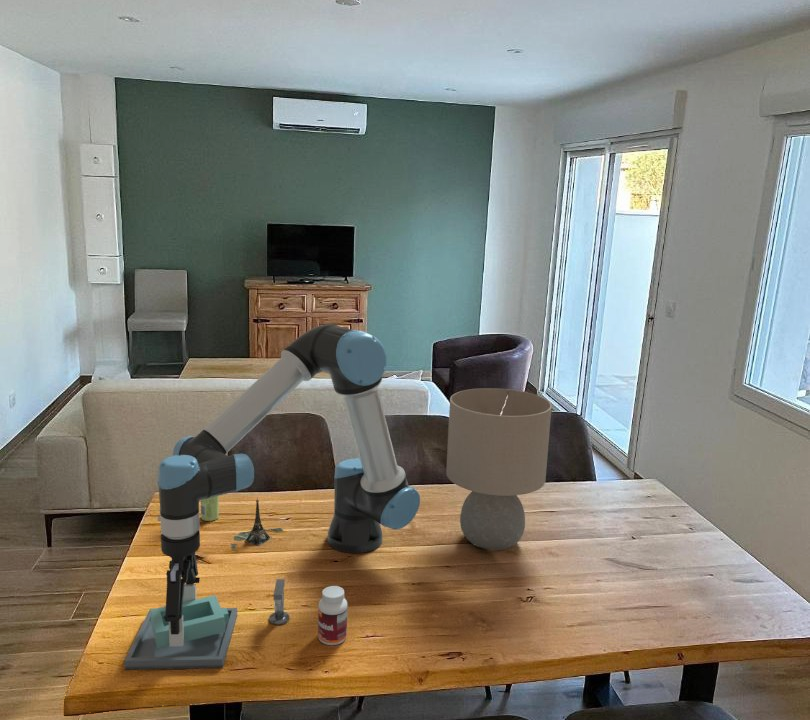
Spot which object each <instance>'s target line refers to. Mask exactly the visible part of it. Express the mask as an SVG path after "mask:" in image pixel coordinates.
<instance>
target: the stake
mask: <svg viewBox="0 0 810 720" xmlns="http://www.w3.org/2000/svg"><path fill="white" fill-rule="evenodd" d="M285 581H286V580H285V578H276V582H275V586H274V589H273V596H272V597H273V600H274V612H273V613H270V615H269V617H268V618H269V619H268V620H269V622H270V624H271V625H275V626H281V625H285V624H287V623H288V622H289V620H290V614H289V613H288V612H285V591H284V590H285V585H286V583H285Z"/></svg>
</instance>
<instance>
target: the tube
mask: <svg viewBox="0 0 810 720" xmlns="http://www.w3.org/2000/svg"><path fill="white" fill-rule="evenodd" d="M219 498H220V495H219V496H215V497H211V498H208V499H204V500H200V518H201V520H202V521H204V522H212V521H216V520H218V518H220V516H219V515H220V514H219V512H220V511H219V509H220V508H219V507H220V506H219V505H220V504H219V502H220V499H219Z"/></svg>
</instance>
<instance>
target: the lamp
mask: <svg viewBox="0 0 810 720" xmlns="http://www.w3.org/2000/svg"><path fill="white" fill-rule="evenodd" d="M552 408H553V407H552V403H551V402H550V401H549V400H548V399H546V398H544V397H542V396H540V395H537V394H535V393H530V392H527V391H523V390H518V389H517V390H516V389H507V388H497V387H495V388H488V387H487V388H486V387H485V388H481V387H480V388H472V389H465V390H461V391H458V392H456V393H454V394H452V395H451V396H450V397H449V410H448V411H449V413H448V414H449V415H448V429H447V430H448V431H447V435H448V436H447V453H446V471H445V472H446V477H447V478H448V480H449V481H450V482H451V483H453V484H454V485H456V486H458V487H460V488H462V489H465V490H467V491H470V492H469V494H468V495H466V498H465V499H464V502H463V504H462V507H461V511H460V515H459V523H460V529H461V532H462V535H464V537H465V538H466V540H468V541H469V543H471V544H473V545H474V546H476V547H477V548H480V549H483V550H488V551H502V550H506V549H510V548H512V547H513V546H515V545H516V544H517V543H519V541H521V539H522V538H523V535H524V532H525V528H526V513H525V509H524V506H523V503H522V501H521V499H520V498H519V497H518V496H521V495H527V494H530V493H533V492H536V491H538V490H540V489H542V488H543V487H544V486H545V484H546V478H547V476H546V475H547V464H548V452H549V440H550V430H551V418H552Z"/></svg>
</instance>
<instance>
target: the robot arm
mask: <svg viewBox="0 0 810 720" xmlns="http://www.w3.org/2000/svg"><path fill="white" fill-rule="evenodd" d="M387 360H388V359H387V353H386V349H385V347H384V345H383V343H382V342H381V340H379V339H378V338H377V337H375V336H374V335H372V334H370V333H368V332H365V331H363V330H360V329H352V328H347V327H343V326H341V325H337V324H332V323H327V324H320V325H318V326H315V327H313V328H311V329H309V330H308V331H306V332H303V333H302V334H300V336H298V337H297V338H296V339H294V340H293V341H292V342H291V343H290V344H289V345H287V346H286V347H285V348H284V349H283V350H282V351H281V353H280V359H278V360H277V361H276V362H275V363H274V364H273V365H272V366H271V367H269V368H268V370H267V371H266V372H264V373H263V374H262V375H261V376H260V377H259V378H258V379H256V380H255V382H253V383H252V384H251V385H250V386H249V387H248V388H247V389H246V390H245V391H244V392H243V393H241V394H240V395H239V396H238V397H237V398H236V399H235V400H234V401H233V402H232V403H230V405H228V406H227V407H226V408H225V409H224V410H223V411H222V412H220V414H219V415H218V416H217V417H216V418H214V419H213V420H212V421H211V422H210V423H209V424H208V425H207V426H206V427H205V428H203V429H202V430H201V431H200V432H199V433H198V434H197V435H196V436H193V435H188V436H184V437H182V438H180V439H179V440H178V441H177V442H176V444H175V445H174V446H173V447H174V448H173V451H172V455H171V456H167V457H165V458H164V459H163V460H161V462H160V463H159V464H158V465H159V466H158V475H157V479H158V480H157V486H158V495H159V496H158V499H159V516H158V517H157V521H159V522H160V534H161V535H160V547H161V548H160V549H161V552H162V554H164V555H165V556H167V557H169V558H171V560H169V564H168V570H166V594H165V595H166V597H165V606H166V613H165V616H164V619H165V622H169V644H170V647H174V646H184V624H183V615H182V605H183V602H187V601H191V600H196V599H197V585H196V584H200V580H201V578H200V577H197V576H198V575H199V570H198V563H197V556H196V552H198V550H199V549H200V547H201V538H200V537H201V536H200V535H201V534H200V533H201V532H200V527H201V526H200V525H201V522H200V502H201V500H204V499H208V498H211V497H215V496H219V497H220V496H223V495H227V494H230V493H237V492H238V491H241V490H244V489H247V488H249V487H251V486H252V484H253V483H254V479H255V468H254V464H253V461H252V460H251V458H250V457H249V456H248V455H247V454H245V453H233V454H231V455H227V453H229V451H231V450H232V449H233V448H234V447H235V446H236V445H237V444H238V443H239V442H240V441H241V440H242V439H243V438H245V436H246V435H248V433H250V431H252V430H253V429H254V428H255V427H256V426H257V425H258V424H259V423H260V422H261V421H262V420H263V419H265V418H266V417H267V415H269V414H270V413H271V412H272V411H273V410H274V409H275V408H276V407H277V406H278V405H279V404H280V403H281V402H282V401H284V399H286V397H288V395H289V394H291V393H292V392H293V391H294V390H295V389H296V388H297V387H298V386H299V385H300V384H301V383H302V382H309V381H310V380H312V379H313V378H314V377H315V376H316V375H318V374H320V373H323V372H324V374H325V373H326V374H327V375H329V376H330V378H331V382H332V383H331V384H332V387H333V389H334V392H335V393H336V394H338V395H339V396H342V397H343V401H344V405H345V408H346V412H347V416H348V419H349V423H350V426H351V431H352V433H353V437H354V442H355V445H356V449H357V453H358V457H359V458H358V457H355V458H350V459H344V460H342V461H340V462H338V463H337V464H336V466H335V468H334V476H333V478H334V506H333V507H334V512H333V517H332V518H331V522H330V525H329V528H328V530H327V544H328V545H329V546H330V547H331V548H333V549H334V550H336V551H339V552H342V553H346V554H347V553H348V554H362V553H369V552H371V551H374V550H376V549H378V548H379V547H380V546H381V545H382V543H383V530H382V526H383V527H385V528H388V529H391V530H401V529H403V528H405V527H406V526H408V525H409V524H410V523H411V522H412V521H413V519H414V518H415V517H416V516H417V515H416V514H417V513H418V511H419V508H420V504H421V496H420V493H419V491H418V490H417V489H416V488H415V487H414V486H410V485H409V483H408V482H409V481H408V479H407V475H406V472H405V470H404V468H403V467H401V466H399V465H398V463H397V459H396V455H395V451H394V446H393V443H392V440H391V436H390V431H389V427H388V423H387V419H386V416H385V415H386V414H385V411H384V408H383V407H384V406H383V403H382V399H381V396H380V395H381V394H380V391H379V386H380V384H381V383H382V380H383V375H384V373H385V367H387V362H388V361H387Z"/></svg>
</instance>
